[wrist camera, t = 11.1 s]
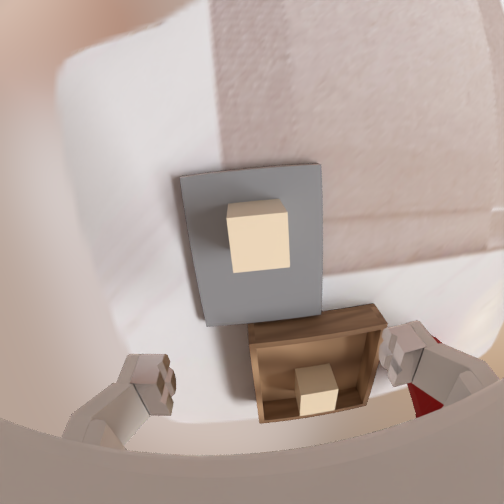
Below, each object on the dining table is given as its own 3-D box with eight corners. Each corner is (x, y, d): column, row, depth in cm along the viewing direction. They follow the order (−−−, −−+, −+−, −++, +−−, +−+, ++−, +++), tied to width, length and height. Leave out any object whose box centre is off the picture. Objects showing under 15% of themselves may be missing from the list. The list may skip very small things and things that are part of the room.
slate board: (182, 176, 23) (179, 177, 22) (317, 163, 23) (321, 164, 22) (207, 320, 28) (206, 326, 27) (318, 308, 28) (321, 314, 27)
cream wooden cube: (228, 203, 23) (226, 218, 19) (279, 198, 23) (287, 212, 19) (233, 250, 24) (233, 273, 21) (282, 245, 24) (290, 267, 21)
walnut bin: (247, 320, 28) (248, 344, 25) (373, 303, 28) (387, 323, 25) (257, 401, 34) (259, 423, 30) (358, 385, 34) (366, 405, 30)
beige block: (294, 368, 31) (300, 395, 27) (329, 363, 31) (338, 389, 27) (294, 390, 32) (299, 416, 29) (326, 385, 32) (334, 410, 29)
